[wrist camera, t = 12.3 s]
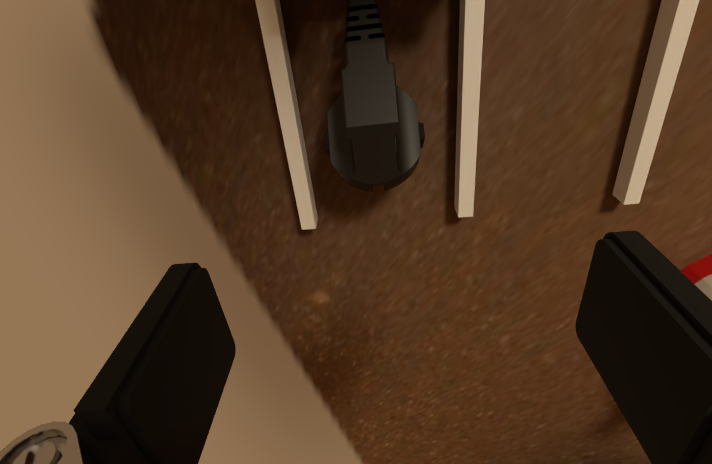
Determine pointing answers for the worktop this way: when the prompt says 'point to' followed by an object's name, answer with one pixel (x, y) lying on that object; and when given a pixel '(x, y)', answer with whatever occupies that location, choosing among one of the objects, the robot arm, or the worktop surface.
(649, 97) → the cable organizer
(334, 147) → the power plug
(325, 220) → the worktop surface
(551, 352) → the worktop surface
